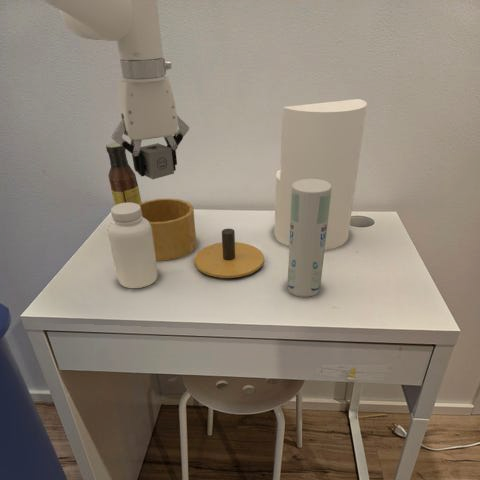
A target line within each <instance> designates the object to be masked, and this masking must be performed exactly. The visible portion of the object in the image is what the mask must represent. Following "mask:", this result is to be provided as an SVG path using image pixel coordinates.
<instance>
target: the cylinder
mask: <svg viewBox="0 0 480 480" xmlns="http://www.w3.org/2000/svg"><path fill="white" fill-rule="evenodd" d="M367 106H368V103H367V101H365V100H363V99H360V98H355V99H345V100H336V101H327V102H317V103H307V104H298V105H288V106H283V107H282V117H281V118H282V119H281V144H280V145H281V147H280V169H278V170H277V171H276V173H275V197H274V198H275V199H274V224H273V225H274V226H273V227H274V228H273V229H274V230H273V231H274V232H273V233H274V238H275V239H276V240H277V241H278V242H279V243H281V244H282V245H284V246H287V247H289V241H290V218H291V196H292V184H293V183H294V182H296V181H298V180H302V179H319V180H324V181H327V182H328V183H330V184H331V187H332V189H331V198H330V207H329V216H328V224H327V233H326V242H325V251H328V250H333V249H336V248H339V247H341V246H342V245H344V244H345V243H346V242H347V241H348V239H349V233H350V227H351V220H352V219H351V218H352V214H353V213H352V212H353V207H354V206H353V204H354V199H355V198H354V197H355V191H356V183H357V177H358V171H359V169H358V168H359V163H360V155H361V149H362V141H363V134H364V127H365V120H366V114H367V113H366V112H367Z"/></svg>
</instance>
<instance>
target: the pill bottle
mask: <svg viewBox="0 0 480 480" xmlns="http://www.w3.org/2000/svg"><path fill="white" fill-rule="evenodd" d="M110 214H111V218H112V221H111V222H110V223H109V225H108V227H107V234H108V238H109V244H110V250H111V253H112V259H113V262H114V263H113V264H114V269H115V274H116V278H117V282H118V283H119V284H120V286H122V287H124V288H128V289H141V288H145V287H148V286H150V285H152V284H154V283H155V282H156V281H157V279H158V275H159V274H158V266H157V260H156V258H155V250H154V243H153V236H152V229H151V225H150V223H149V221H148V220H147V219H145V218H143V217H142V212H141V207H140V206H139V205H138V204H136V203H121V204H117V205H115V204H114V206H112V207H111V209H110Z"/></svg>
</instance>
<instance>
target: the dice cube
mask: <svg viewBox="0 0 480 480" xmlns="http://www.w3.org/2000/svg"><path fill="white" fill-rule="evenodd" d="M140 155H142V157H143V163H144V170H145V175H144V177H146V178H149V179H150V180H156V179H160V178H163V177H167V176H171V175H175V171H174V168H173V159H172V150H171V148H170V147H167V145H164V144H161V143H153V144H148V145H144V146H141V147H140Z"/></svg>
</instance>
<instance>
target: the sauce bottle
mask: <svg viewBox="0 0 480 480" xmlns="http://www.w3.org/2000/svg"><path fill="white" fill-rule="evenodd" d="M105 148H106V153H107V154H108V158H109V164H110V169H109V171H108V180H109V185H110V191H111V195H112V200H113V203H114V206H115V205H117V204H121V203H136V204H140V203H143V202H142V198H141V192H140V187H139V184H138V180H137V177H136V173H135V171H134V170H133V169H132V167H131V166H130V164H129V161H128V158H127V154H126V153H127V152H126V151H127V150H126V149H125V148H124V147H122V146H121V145H120V144H118V143H117V142H115V141H114V142H110V143H107V144H106V145H105Z"/></svg>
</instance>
